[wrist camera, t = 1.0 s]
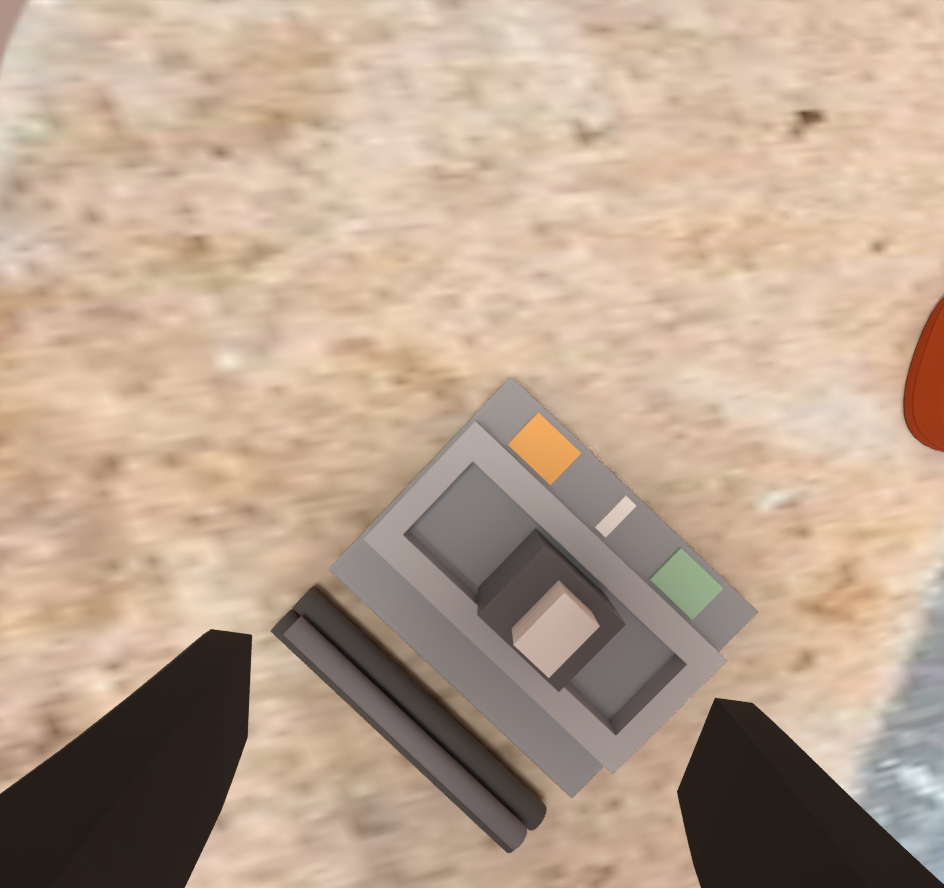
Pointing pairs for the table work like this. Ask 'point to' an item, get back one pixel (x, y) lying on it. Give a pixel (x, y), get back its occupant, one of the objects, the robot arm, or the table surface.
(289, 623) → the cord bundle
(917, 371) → the toy drill
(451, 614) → the breaker panel
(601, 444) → the table surface
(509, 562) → the breaker slider
